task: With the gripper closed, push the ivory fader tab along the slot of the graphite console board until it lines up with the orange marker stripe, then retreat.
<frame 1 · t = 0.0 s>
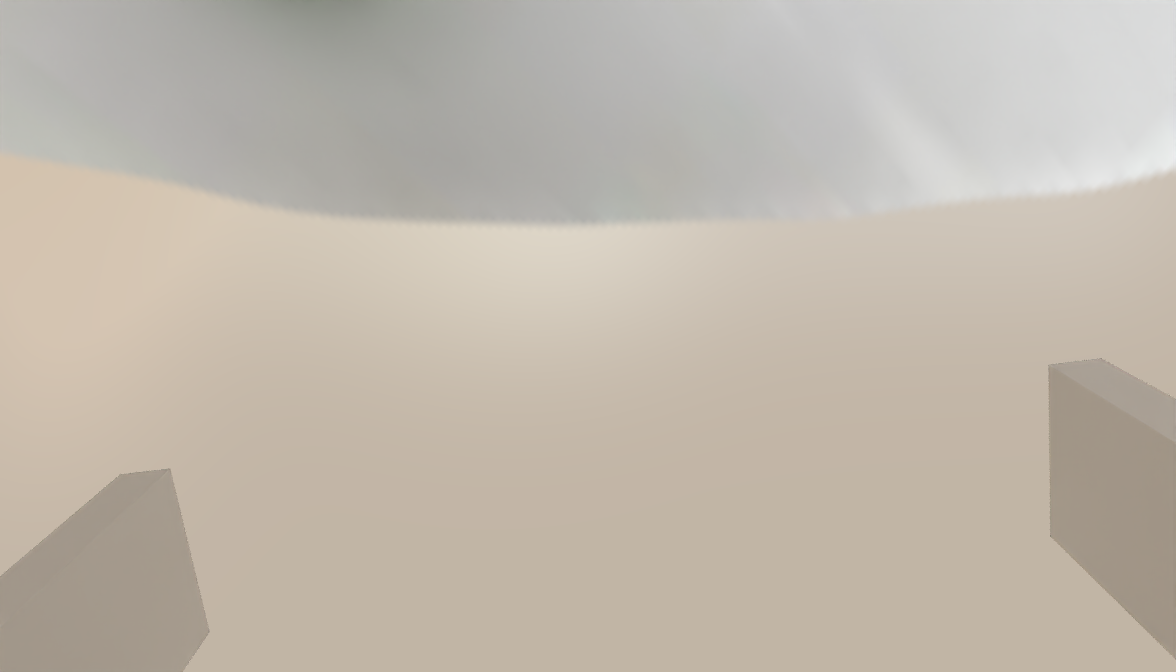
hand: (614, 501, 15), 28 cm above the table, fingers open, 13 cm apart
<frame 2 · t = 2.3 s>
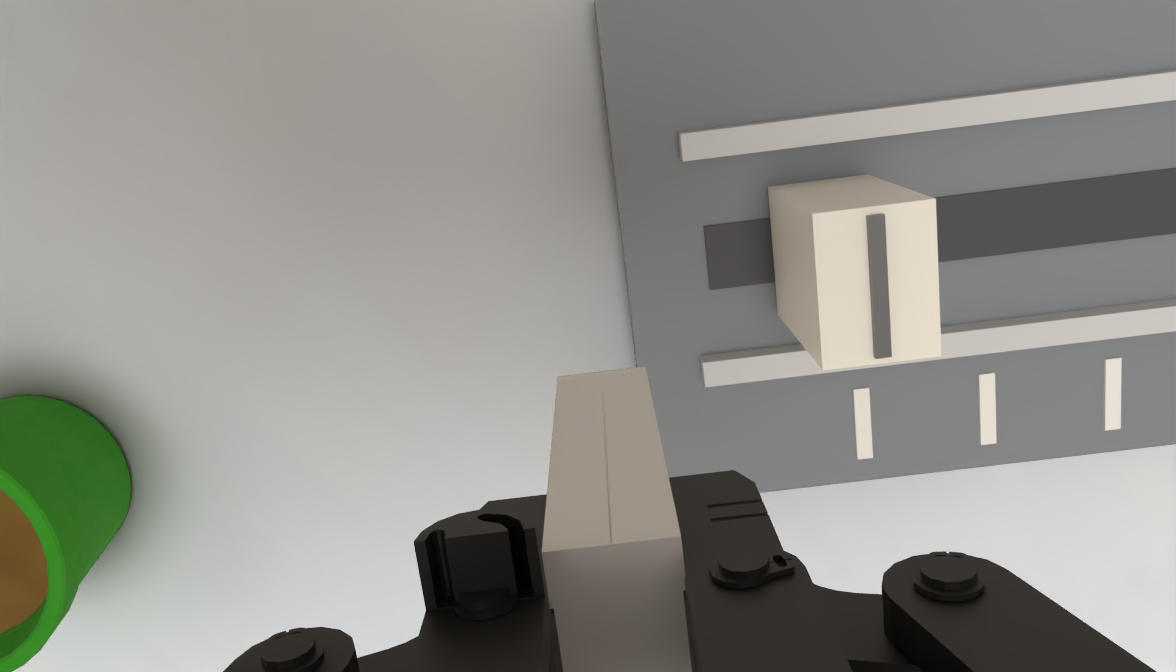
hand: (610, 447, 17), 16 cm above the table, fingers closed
potted flower: (40, 469, 35), on the table
console: (1081, 200, 33), on the table
fader tab: (848, 264, 28), point 5 cm above the table, slide at 0.0 cm
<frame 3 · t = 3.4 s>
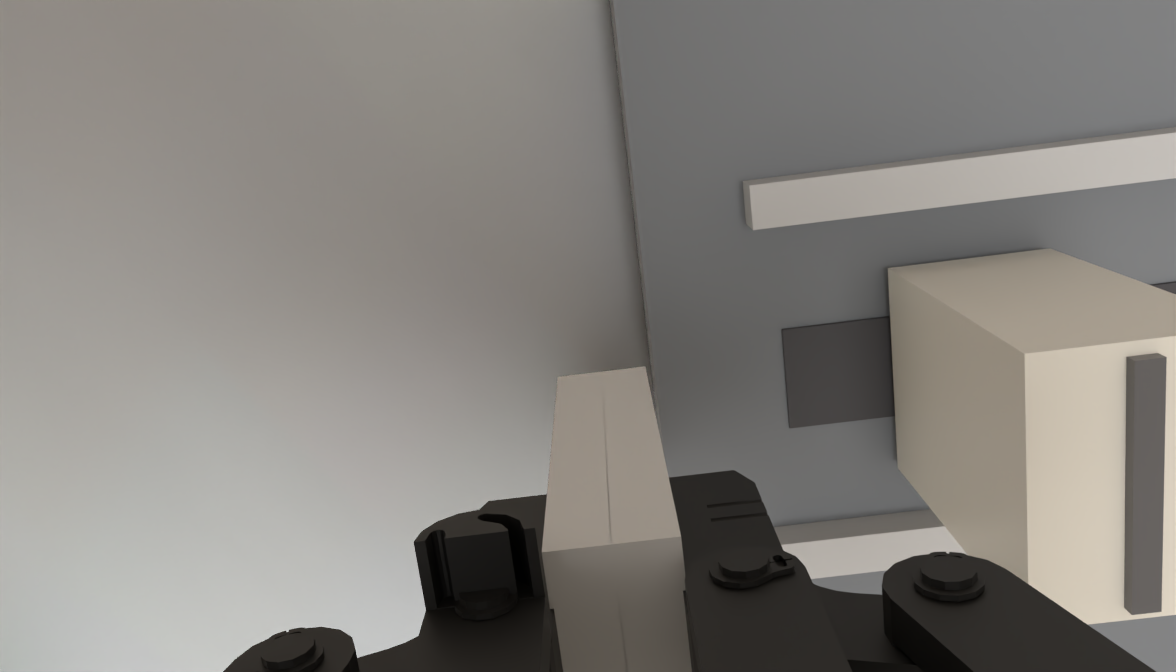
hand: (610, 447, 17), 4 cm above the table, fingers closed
fader tab: (1043, 413, 16), point 5 cm above the table, slide at 0.0 cm
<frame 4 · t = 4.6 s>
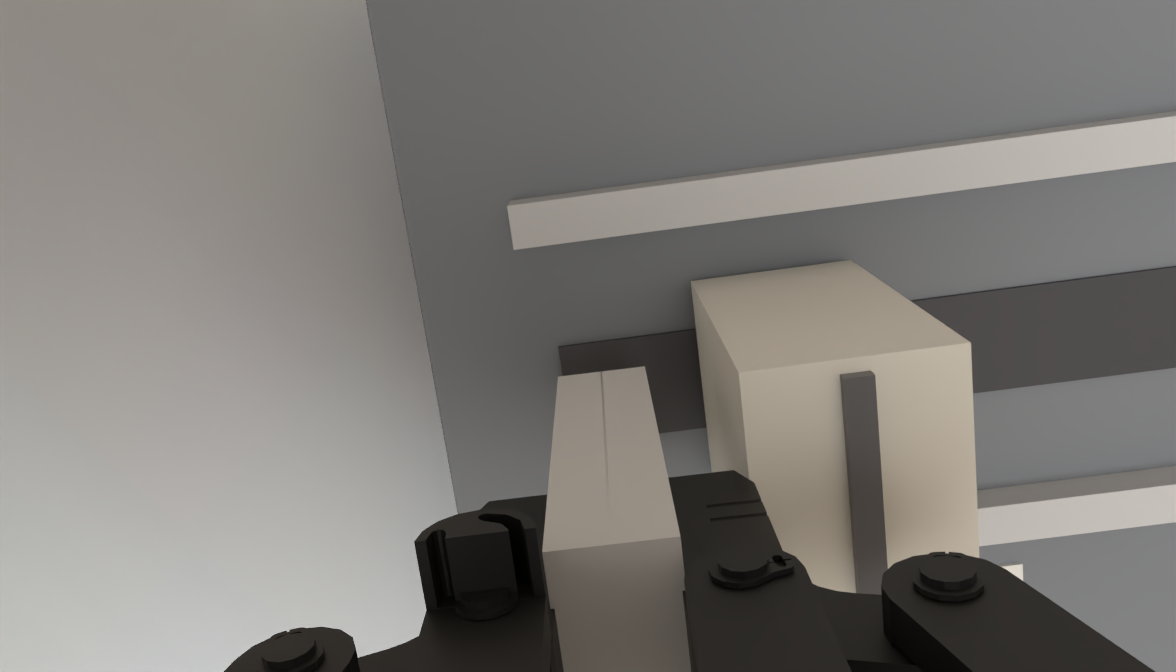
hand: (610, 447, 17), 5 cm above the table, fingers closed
console: (1153, 290, 21), on the table
fader tab: (815, 427, 16), point 5 cm above the table, slide at 0.7 cm, touching gripper
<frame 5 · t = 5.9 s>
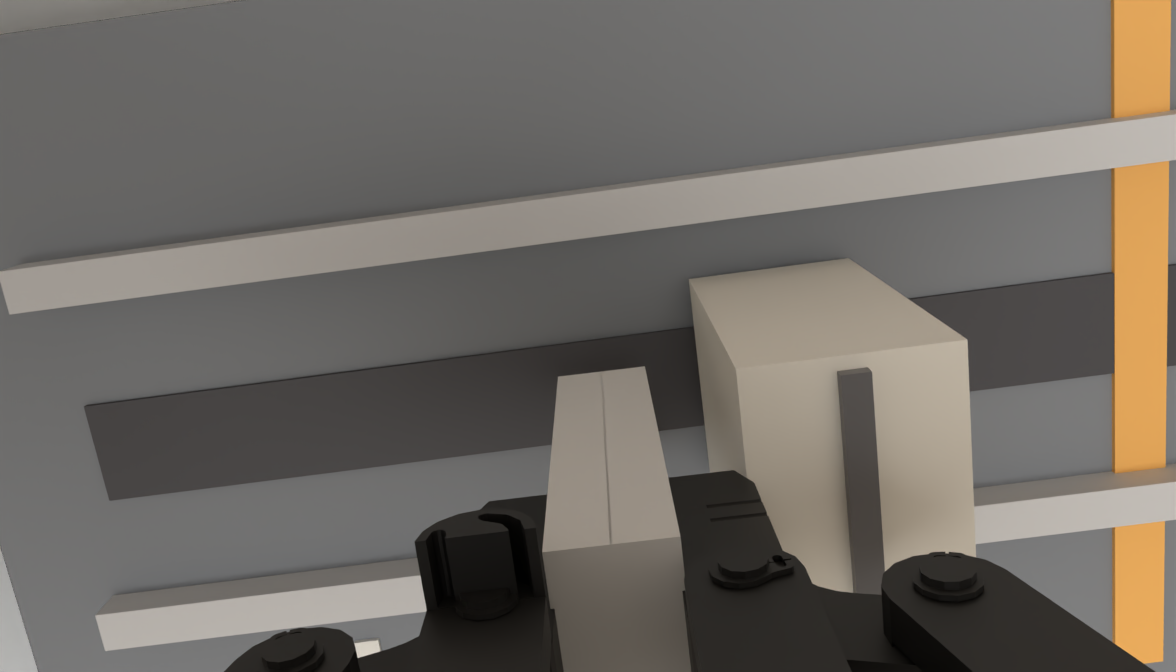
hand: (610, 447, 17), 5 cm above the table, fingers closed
console: (712, 345, 22), on the table
fader tab: (813, 424, 16), point 5 cm above the table, slide at 10.0 cm, touching gripper
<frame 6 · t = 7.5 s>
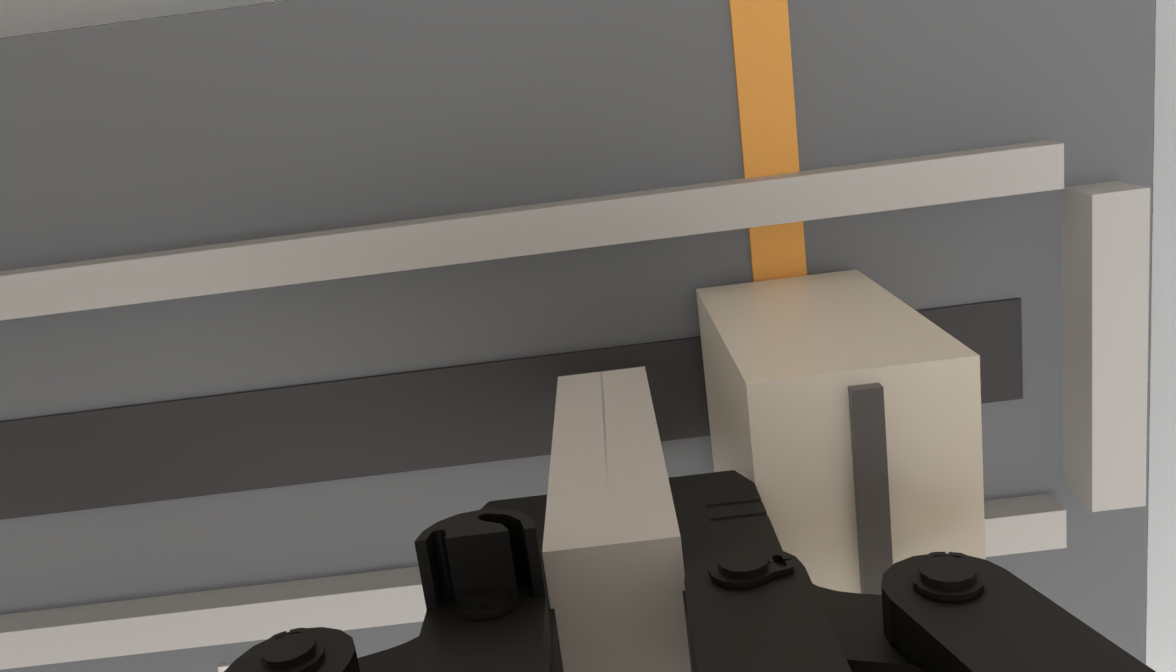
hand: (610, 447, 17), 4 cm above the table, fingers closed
console: (398, 393, 22), on the table
fader tab: (821, 437, 16), point 5 cm above the table, slide at 16.9 cm, touching gripper
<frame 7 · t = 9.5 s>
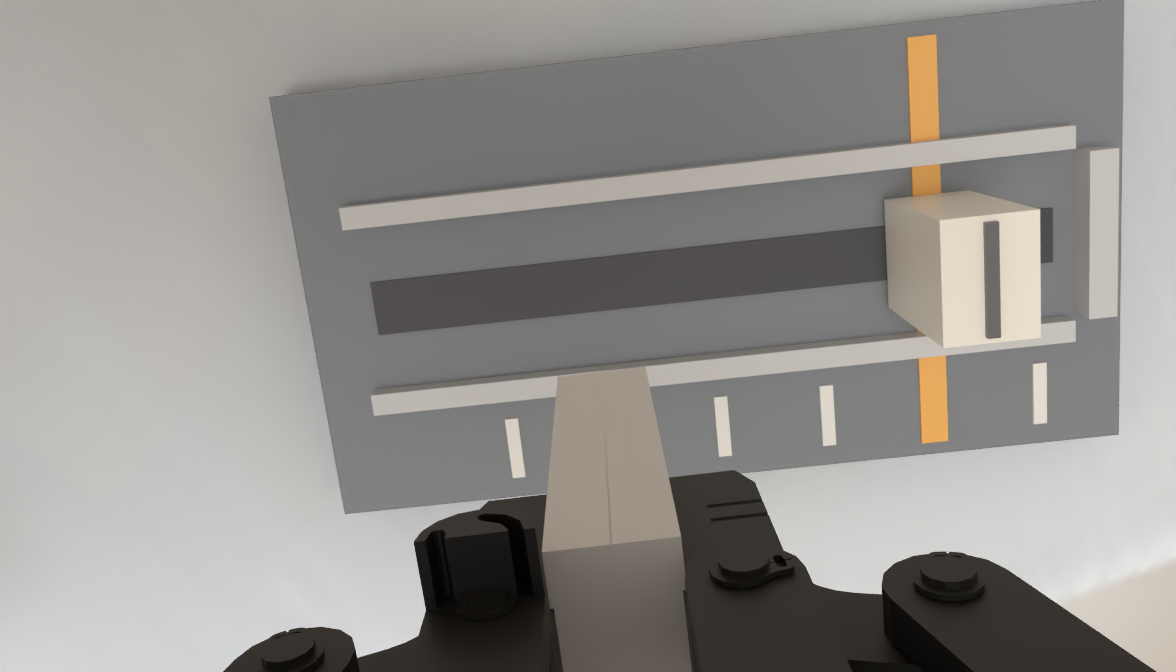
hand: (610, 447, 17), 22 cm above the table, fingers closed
console: (703, 263, 39), on the table
fader tab: (957, 264, 34), point 5 cm above the table, slide at 16.9 cm
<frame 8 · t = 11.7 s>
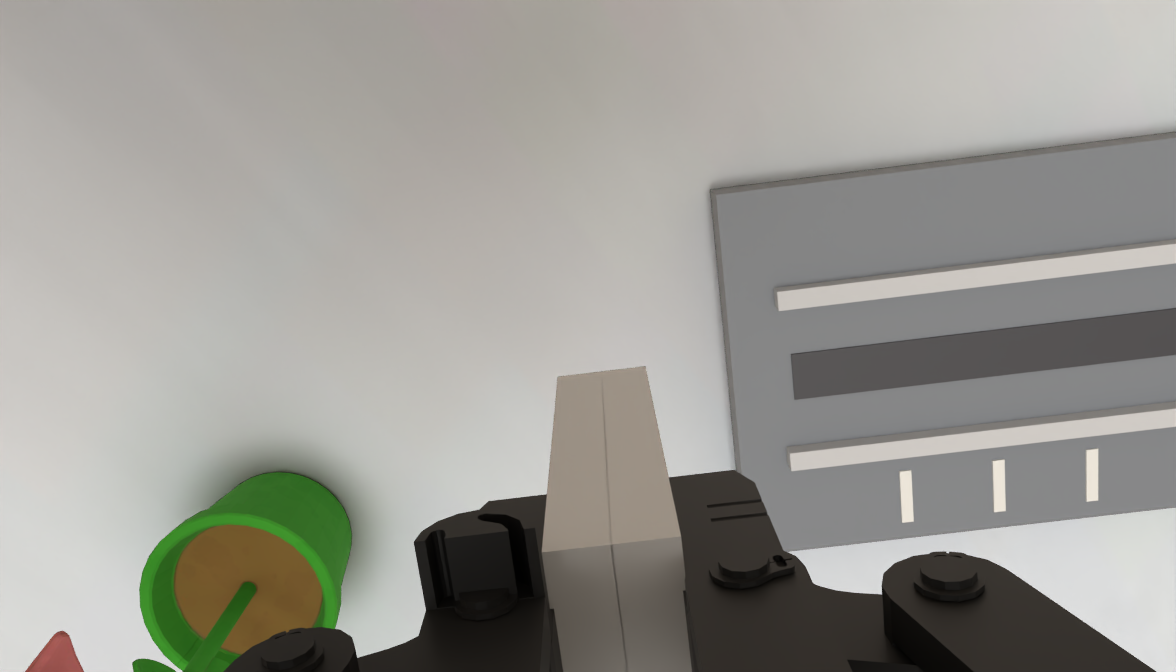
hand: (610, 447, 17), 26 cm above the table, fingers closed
potted flower: (282, 526, 46), on the table
console: (1068, 329, 44), on the table
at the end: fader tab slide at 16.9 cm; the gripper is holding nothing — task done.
